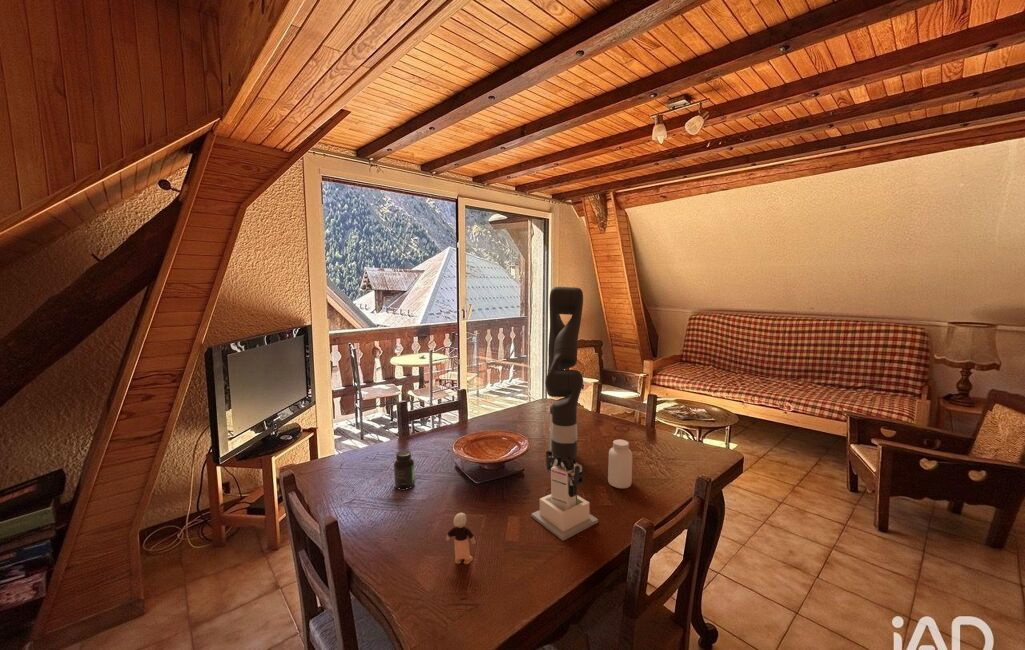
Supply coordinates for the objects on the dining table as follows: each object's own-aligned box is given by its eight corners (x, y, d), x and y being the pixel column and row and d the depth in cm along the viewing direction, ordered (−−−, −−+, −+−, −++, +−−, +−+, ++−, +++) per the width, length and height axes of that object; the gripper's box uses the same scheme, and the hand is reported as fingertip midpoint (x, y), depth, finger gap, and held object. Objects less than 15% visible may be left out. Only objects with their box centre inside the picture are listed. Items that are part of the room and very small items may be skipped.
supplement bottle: (418, 485, 141) (417, 452, 140) (401, 493, 136) (400, 459, 135) (408, 479, 146) (406, 447, 144) (391, 486, 141) (389, 453, 139)
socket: (531, 516, 122) (531, 498, 121) (565, 501, 130) (565, 483, 129) (562, 540, 110) (562, 520, 110) (598, 522, 118) (598, 503, 118)
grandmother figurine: (476, 554, 105) (475, 509, 104) (476, 564, 102) (474, 517, 100) (447, 555, 105) (445, 510, 104) (445, 565, 101) (443, 518, 100)
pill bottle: (632, 490, 136) (633, 447, 134) (608, 488, 137) (609, 446, 136) (630, 478, 144) (631, 438, 142) (607, 476, 145) (608, 436, 143)
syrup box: (568, 520, 116) (568, 472, 114) (550, 513, 119) (550, 467, 118) (577, 510, 120) (577, 465, 119) (560, 504, 124) (560, 459, 122)
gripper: (538, 432, 121) (539, 484, 123) (572, 448, 109) (572, 506, 111) (557, 426, 125) (557, 477, 127) (591, 441, 113) (591, 497, 115)
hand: (564, 490), depth 119 cm, fingers closed on syrup box, 6 cm apart
